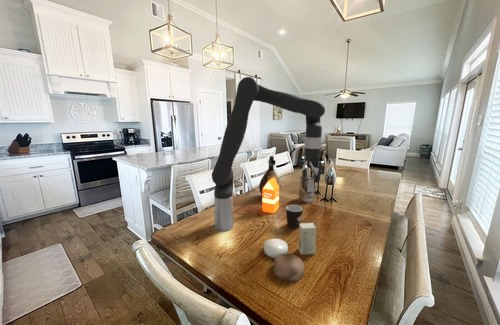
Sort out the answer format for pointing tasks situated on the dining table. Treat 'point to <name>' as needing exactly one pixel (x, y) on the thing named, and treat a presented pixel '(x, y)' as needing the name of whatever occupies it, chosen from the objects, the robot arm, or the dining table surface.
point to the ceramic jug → (269, 175)
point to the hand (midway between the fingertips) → (310, 180)
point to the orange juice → (270, 196)
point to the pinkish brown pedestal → (288, 267)
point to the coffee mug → (293, 216)
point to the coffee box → (307, 189)
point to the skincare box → (307, 238)
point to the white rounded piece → (275, 247)
